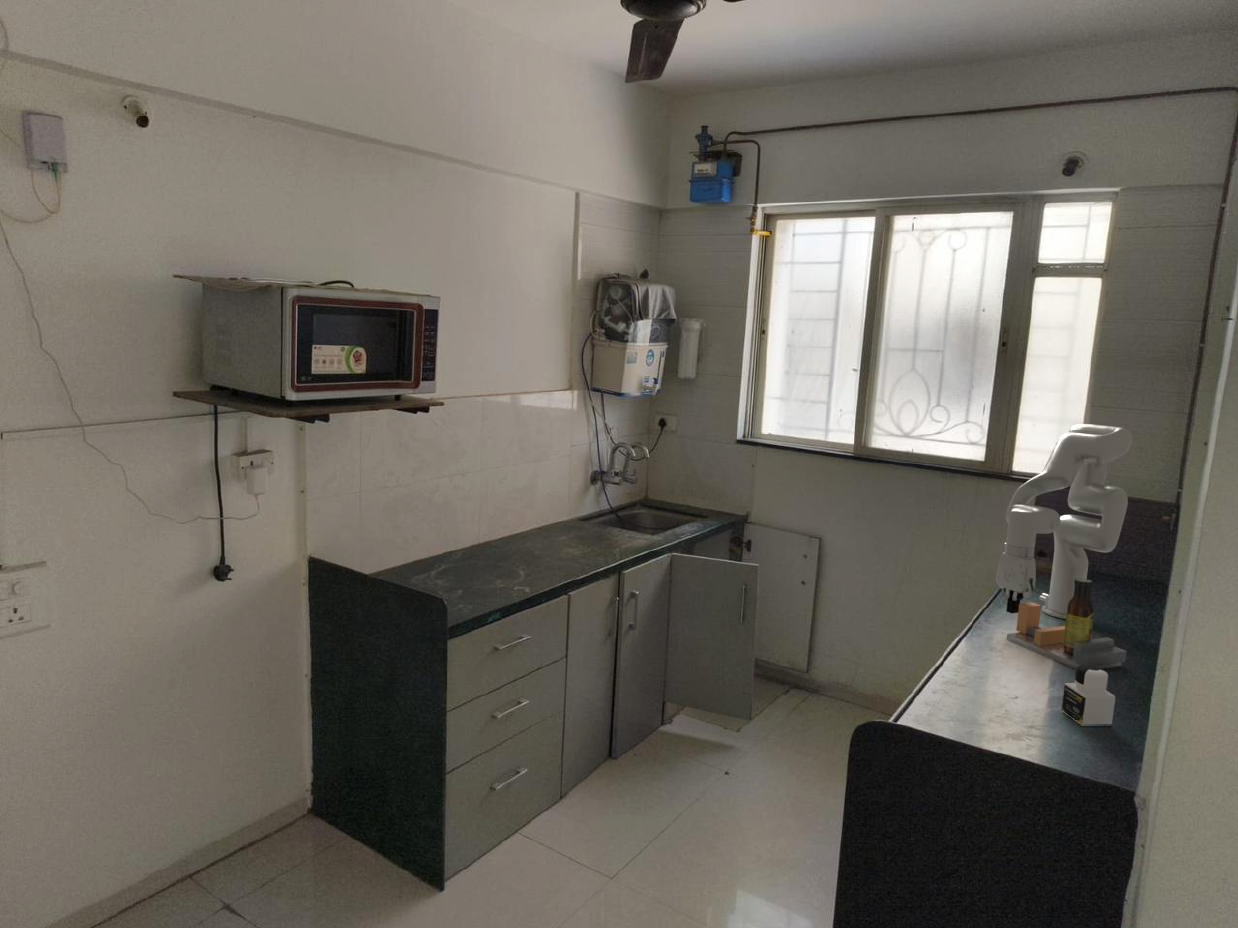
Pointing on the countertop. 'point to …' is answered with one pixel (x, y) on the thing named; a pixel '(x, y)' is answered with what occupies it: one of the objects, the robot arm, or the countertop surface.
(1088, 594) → the sauce bottle
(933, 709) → the countertop surface
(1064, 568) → the robot arm
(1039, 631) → the sliding jaw
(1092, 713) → the medicine bottle
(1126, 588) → the countertop surface
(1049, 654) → the vise base
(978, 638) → the countertop surface
